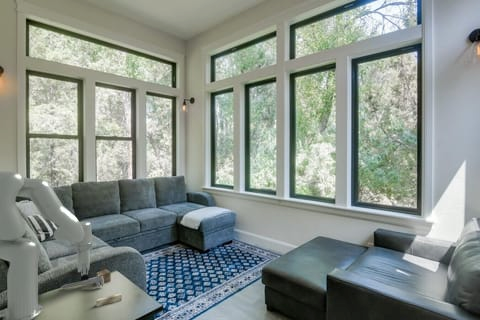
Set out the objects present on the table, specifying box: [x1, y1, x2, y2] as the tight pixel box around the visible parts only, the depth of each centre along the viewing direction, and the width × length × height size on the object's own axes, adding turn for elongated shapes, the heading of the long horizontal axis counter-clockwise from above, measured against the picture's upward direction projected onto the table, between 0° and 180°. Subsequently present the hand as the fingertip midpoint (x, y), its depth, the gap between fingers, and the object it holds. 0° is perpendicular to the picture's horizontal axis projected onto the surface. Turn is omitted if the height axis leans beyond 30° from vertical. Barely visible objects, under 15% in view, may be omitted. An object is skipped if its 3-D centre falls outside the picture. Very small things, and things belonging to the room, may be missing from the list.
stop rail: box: [96, 292, 123, 307], centre depth 115 cm, size 10×2×2 cm, turn 121°
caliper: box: [60, 274, 105, 289], centre depth 127 cm, size 20×1×6 cm, turn 95°
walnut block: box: [95, 269, 112, 286], centre depth 134 cm, size 5×5×5 cm
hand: (85, 282), depth 130 cm, fingers closed
